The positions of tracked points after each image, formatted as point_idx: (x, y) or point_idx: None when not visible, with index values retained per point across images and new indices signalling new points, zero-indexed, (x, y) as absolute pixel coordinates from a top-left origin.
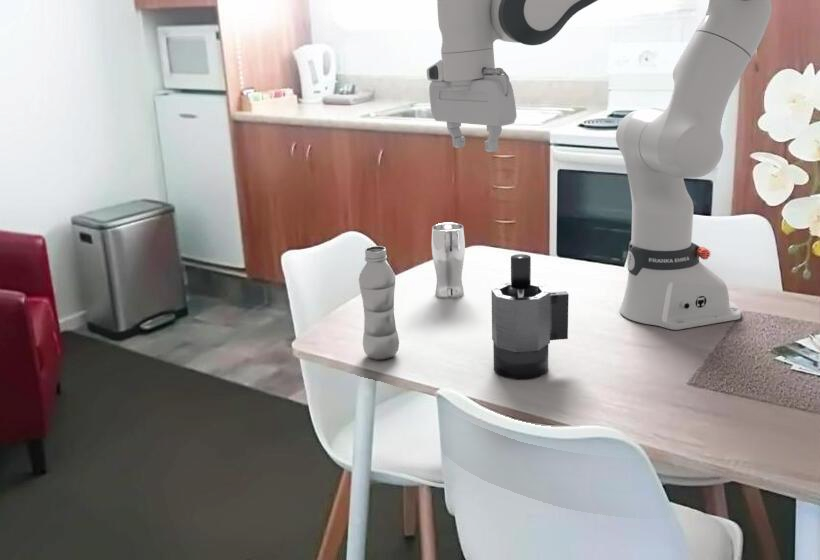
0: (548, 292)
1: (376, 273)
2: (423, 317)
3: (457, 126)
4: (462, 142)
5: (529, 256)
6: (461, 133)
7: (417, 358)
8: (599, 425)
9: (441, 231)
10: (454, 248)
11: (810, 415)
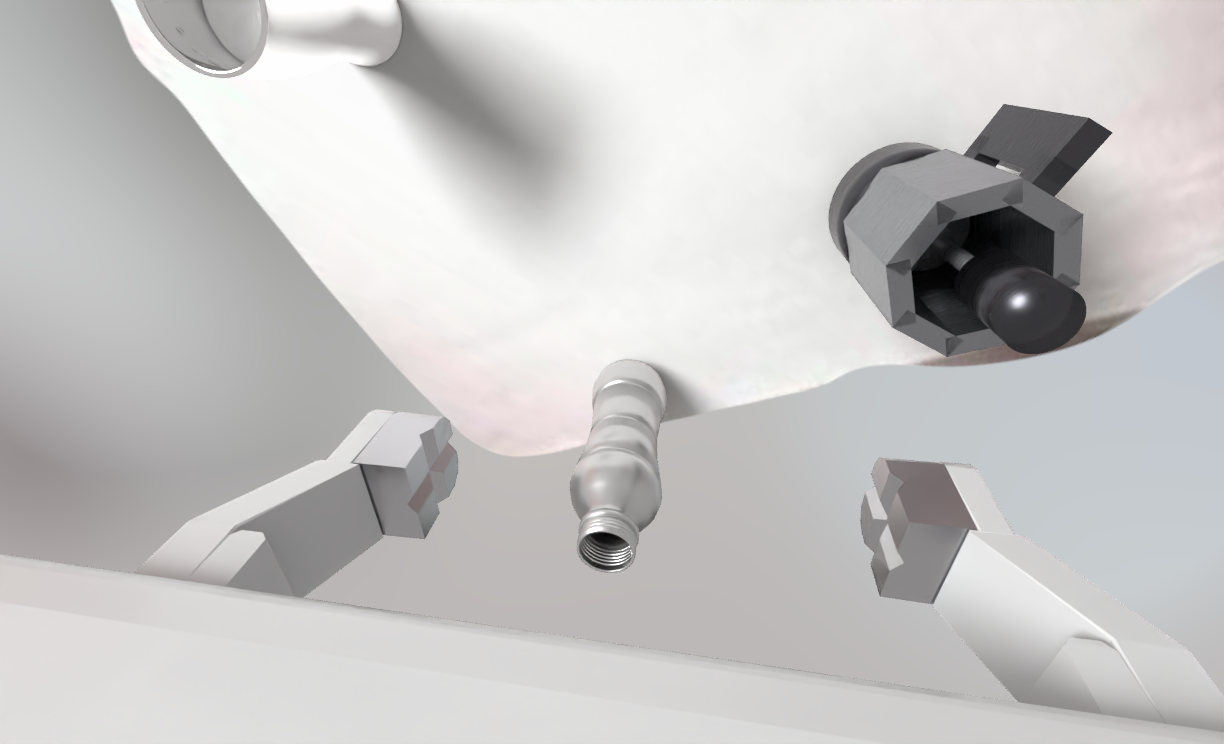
0: (1077, 220)
1: (644, 527)
2: (489, 193)
3: (284, 575)
4: (430, 456)
5: (1071, 293)
6: (328, 478)
7: (686, 340)
8: (1201, 269)
9: (253, 66)
10: (317, 21)
11: None
